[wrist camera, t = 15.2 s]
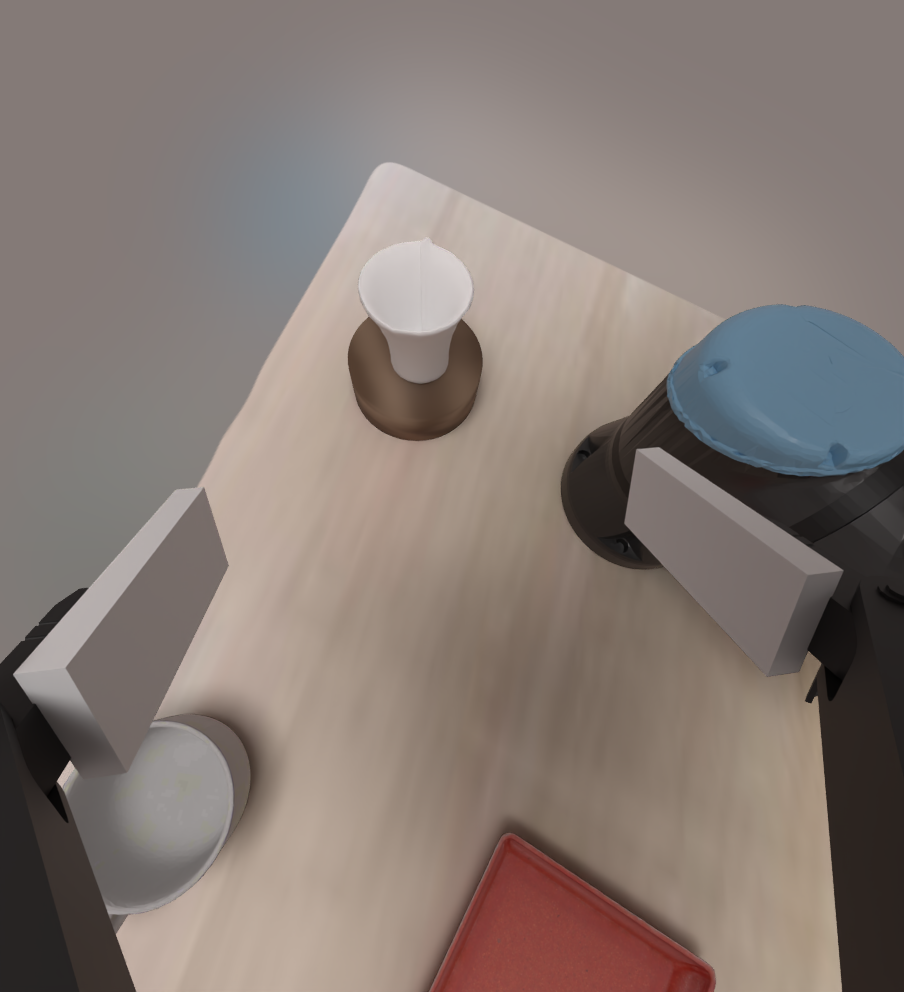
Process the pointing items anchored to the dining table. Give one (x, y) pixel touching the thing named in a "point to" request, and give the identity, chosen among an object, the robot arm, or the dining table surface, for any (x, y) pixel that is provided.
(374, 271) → the cup
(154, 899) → the teacup
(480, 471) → the dining table surface
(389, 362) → the walnut stand
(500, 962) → the plant saucer
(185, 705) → the dining table surface
